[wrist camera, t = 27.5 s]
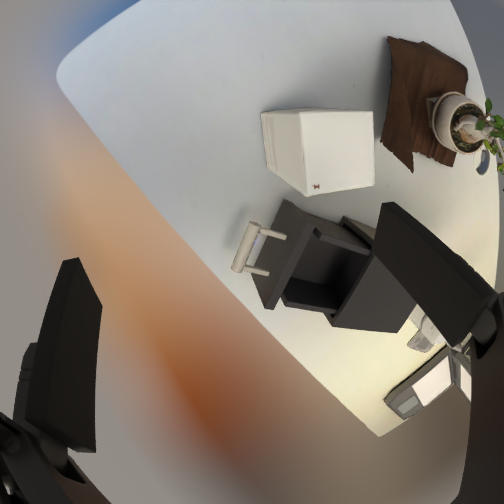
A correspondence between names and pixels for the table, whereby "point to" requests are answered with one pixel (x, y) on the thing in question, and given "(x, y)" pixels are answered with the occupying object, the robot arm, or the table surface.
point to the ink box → (426, 326)
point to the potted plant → (434, 108)
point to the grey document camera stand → (431, 383)
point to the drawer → (303, 261)
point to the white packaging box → (320, 148)
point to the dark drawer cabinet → (373, 294)
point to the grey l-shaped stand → (425, 343)
